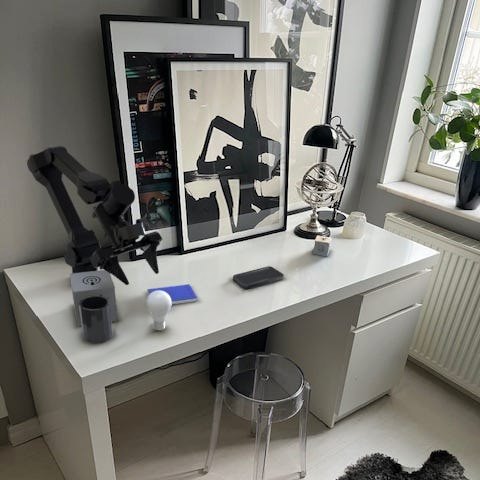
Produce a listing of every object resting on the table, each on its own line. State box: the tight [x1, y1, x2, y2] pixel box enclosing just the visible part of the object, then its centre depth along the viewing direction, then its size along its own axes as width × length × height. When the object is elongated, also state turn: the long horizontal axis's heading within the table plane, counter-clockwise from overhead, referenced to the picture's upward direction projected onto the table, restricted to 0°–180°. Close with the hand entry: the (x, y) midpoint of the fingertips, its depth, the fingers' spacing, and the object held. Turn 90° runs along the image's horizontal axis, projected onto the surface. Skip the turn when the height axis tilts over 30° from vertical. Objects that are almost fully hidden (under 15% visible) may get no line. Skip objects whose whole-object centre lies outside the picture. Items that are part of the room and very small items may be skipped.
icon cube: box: [69, 269, 118, 327], centre depth 130 cm, size 10×10×10 cm
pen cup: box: [79, 295, 113, 344], centre depth 122 cm, size 7×7×10 cm
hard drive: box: [146, 283, 198, 305], centre depth 142 cm, size 2×8×12 cm
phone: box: [232, 265, 285, 290], centre depth 155 cm, size 8×1×15 cm
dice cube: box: [312, 234, 332, 257], centre depth 174 cm, size 5×5×5 cm
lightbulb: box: [145, 290, 173, 331], centre depth 125 cm, size 6×6×11 cm
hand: (143, 278), depth 125 cm, fingers open, 9 cm apart
